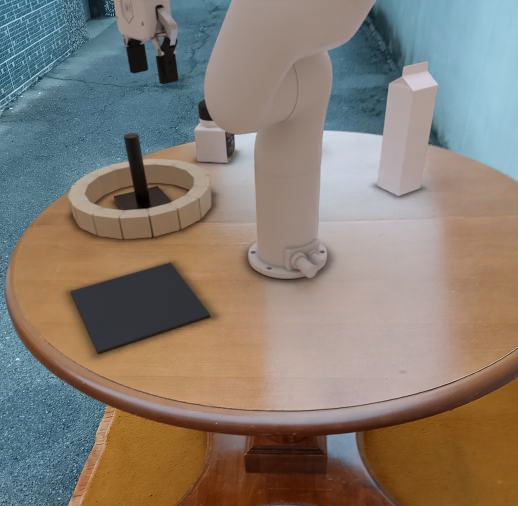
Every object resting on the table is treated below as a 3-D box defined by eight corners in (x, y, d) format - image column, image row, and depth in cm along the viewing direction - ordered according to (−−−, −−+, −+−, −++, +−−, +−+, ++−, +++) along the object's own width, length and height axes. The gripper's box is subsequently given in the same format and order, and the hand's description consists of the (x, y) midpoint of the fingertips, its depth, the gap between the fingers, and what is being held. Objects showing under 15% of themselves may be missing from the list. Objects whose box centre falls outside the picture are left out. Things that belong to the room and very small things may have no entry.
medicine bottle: (228, 163, 117) (224, 106, 109) (196, 162, 118) (190, 105, 111) (235, 151, 122) (232, 95, 115) (205, 150, 124) (200, 95, 116)
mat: (210, 316, 75) (210, 314, 75) (98, 354, 70) (97, 351, 69) (170, 264, 86) (170, 262, 86) (71, 293, 81) (70, 291, 80)
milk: (420, 188, 104) (443, 64, 90) (397, 196, 102) (417, 70, 88) (398, 178, 108) (416, 57, 94) (375, 185, 106) (391, 63, 91)
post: (174, 208, 101) (163, 138, 93) (128, 220, 98) (113, 148, 90) (158, 191, 107) (147, 123, 99) (114, 201, 104) (99, 132, 96)
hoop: (234, 215, 98) (232, 195, 96) (93, 253, 90) (88, 231, 87) (182, 168, 116) (180, 149, 113) (61, 195, 107) (56, 176, 105)
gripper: (84, -52, 81) (109, 72, 92) (140, -48, 70) (160, 92, 81) (129, -56, 84) (148, 64, 95) (188, -53, 73) (201, 82, 84)
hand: (153, 76), depth 88 cm, fingers open, 9 cm apart
